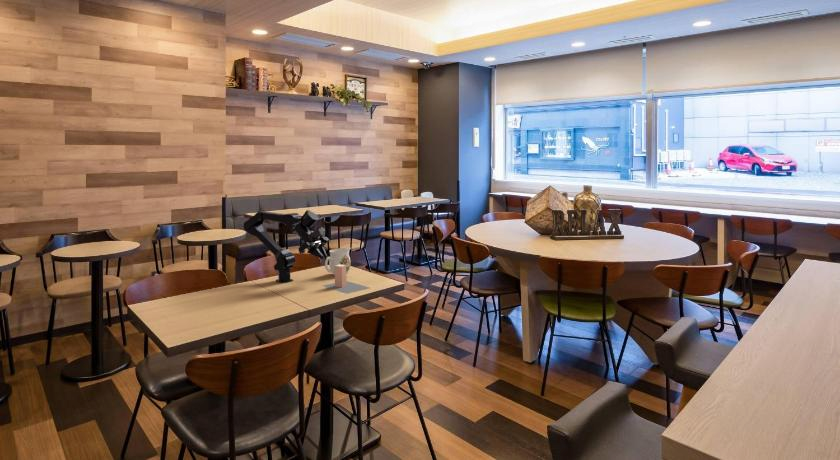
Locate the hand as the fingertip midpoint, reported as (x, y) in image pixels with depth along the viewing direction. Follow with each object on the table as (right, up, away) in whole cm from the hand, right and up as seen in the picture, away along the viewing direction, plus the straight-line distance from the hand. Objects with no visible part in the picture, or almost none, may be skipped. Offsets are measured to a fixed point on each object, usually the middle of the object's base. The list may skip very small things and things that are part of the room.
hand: (324, 257), depth 244 cm
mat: (+11, -14, -3) cm, 18 cm away
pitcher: (+3, -11, +22) cm, 25 cm away
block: (+8, -13, -1) cm, 16 cm away
